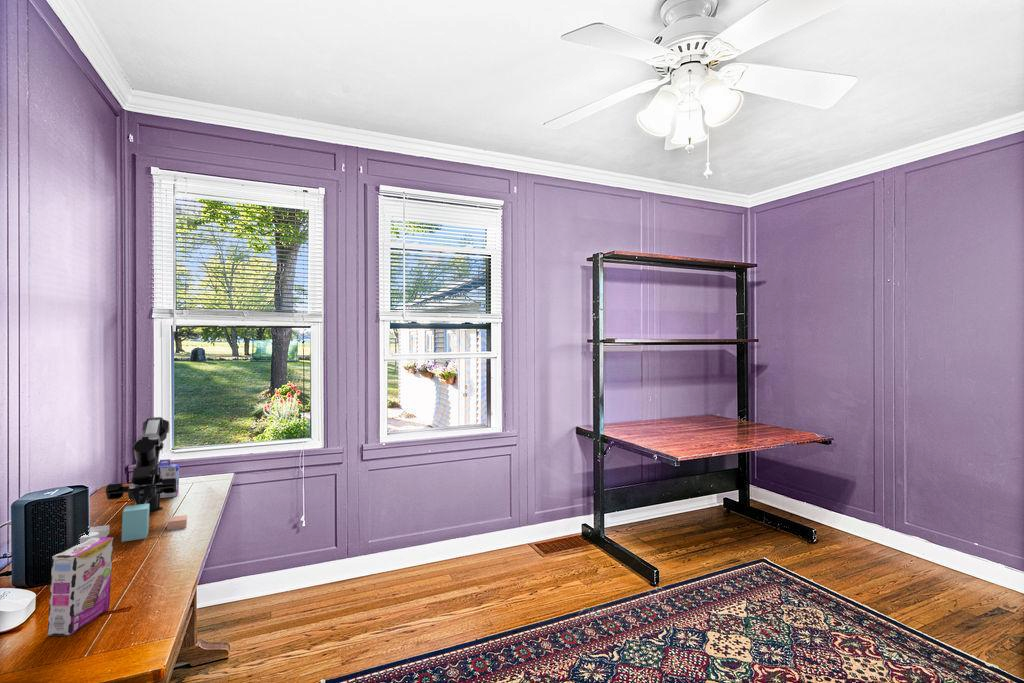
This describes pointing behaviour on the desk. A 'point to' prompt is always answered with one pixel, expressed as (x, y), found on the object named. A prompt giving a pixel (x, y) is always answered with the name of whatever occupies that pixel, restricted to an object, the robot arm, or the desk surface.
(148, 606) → the desk surface
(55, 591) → the candy bar box
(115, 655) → the desk surface
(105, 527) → the pale grey block
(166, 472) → the ink cartridge box
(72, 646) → the desk surface
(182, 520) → the terracotta block
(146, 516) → the teal upright rectangular block
